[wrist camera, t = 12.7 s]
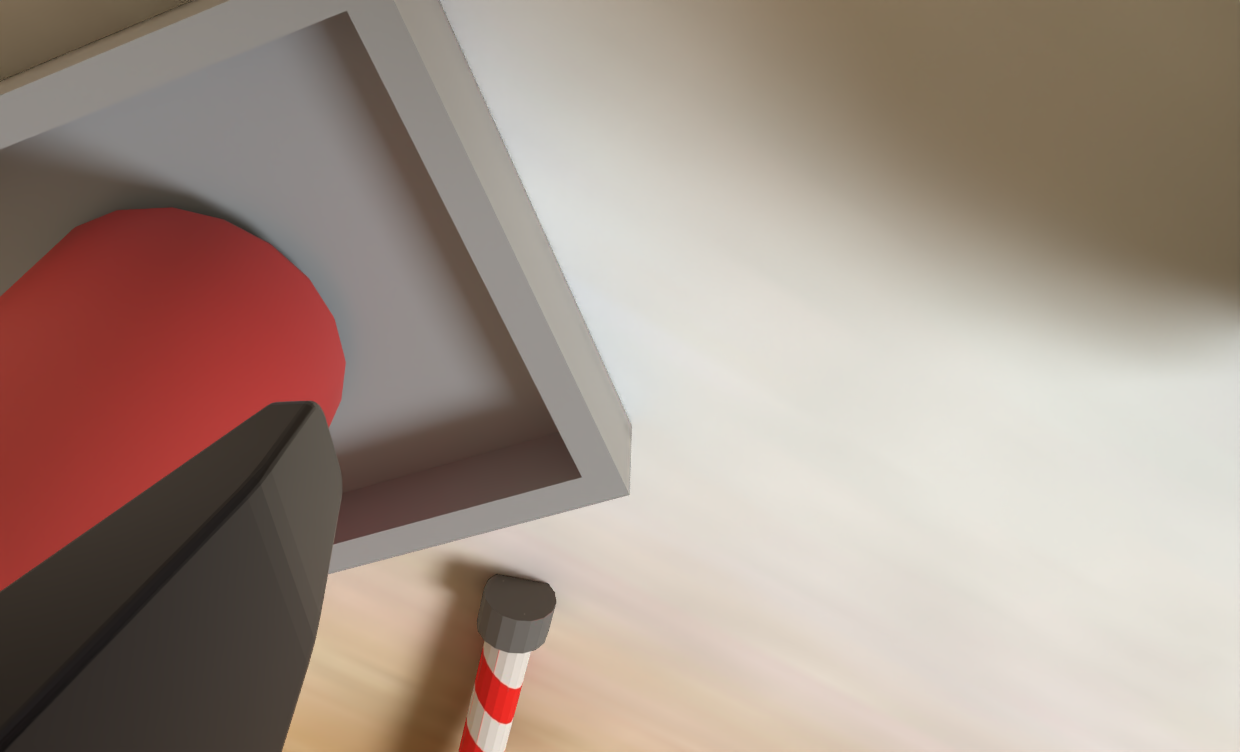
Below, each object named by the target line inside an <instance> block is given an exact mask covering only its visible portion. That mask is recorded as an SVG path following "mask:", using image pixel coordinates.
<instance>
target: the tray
mask: <svg viewBox="0 0 1240 752" xmlns="http://www.w3.org/2000/svg"><path fill="white" fill-rule="evenodd" d="M170 207H173V208H177V209H182V210H186V211H190V212H194V213H199V214H203V215H207V216H211V217H216V218H220V219H224V220H226V221H228V222H230V223H232V224H234V225H235V226H237V227H239V228H241V229H243V230H245V231H247V232H249V233H251V234H253V235H255V236H257V237H258V238H260V239H262V240H264V241H266V242H268V243H270V244H271V245H273V246H274V247H275V248H276V249H277V250H278V251H279V252H280V253H282V254H283V255H284V256H285V257H286V258H287V259H288V260H289V261H290V262H292V263H293V264H294V265H295V266H296V267H297V268H298V269H299V270H301V271H302V272H303V273H304V274H305V275H306V276H307V277H308V278H309V279H310V280H311V282H312V284H313V285H314V287H315V288H316V290H317V291H318V293H319V295H320V296H321V298H322V299H323V301H324V302H325V304H326V305H327V307H328V309H329V310H330V312H331V313H332V315H333V316H334V319H335V322H336V326H337V330H338V334H339V338H340V341H341V345H342V349H343V353H344V357H345V361H346V366H345V374H344V382H343V390H342V399H341V402H340V404H339V406H338V409H337V411H336V413H335V415H334V418H333V420H332V422H331V424H330V427H329V431H330V434H331V438H332V441H333V445H334V448H335V452H336V455H337V459H338V462H339V466H340V470H341V475H342V499H341V504H340V510H339V515H338V521H337V527H336V532H335V538H334V543H333V549H332V554H331V560H330V565H329V571H328V574H331V573H335V572H339V571H342V570H346V569H350V568H354V567H358V566H361V565H365V564H369V563H373V562H377V561H380V560H384V559H388V558H392V557H395V556H399V555H403V554H407V553H411V552H414V551H418V550H422V549H426V548H430V547H433V546H437V545H441V544H445V543H449V542H452V541H456V540H460V539H464V538H468V537H471V536H475V535H479V534H483V533H487V532H490V531H494V530H498V529H502V528H506V527H509V526H513V525H517V524H521V523H525V522H528V521H532V520H536V519H540V518H544V517H547V516H551V515H555V514H559V513H563V512H566V511H570V510H574V509H578V508H582V507H585V506H589V505H593V504H597V503H601V502H604V501H608V500H612V499H616V498H620V497H623V496H627V495H630V467H631V436H632V425H631V423H630V421H629V418H628V416H627V414H626V412H625V410H624V407H623V405H622V403H621V401H620V399H619V396H618V394H617V392H616V390H615V388H614V385H613V383H612V381H611V379H610V377H609V374H608V372H607V370H606V368H605V365H604V363H603V361H602V359H601V357H600V354H599V352H598V350H597V348H596V346H595V343H594V341H593V339H592V337H591V335H590V332H589V330H588V328H587V326H586V324H585V321H584V319H583V317H582V315H581V313H580V310H579V308H578V306H577V304H576V301H575V299H574V297H573V295H572V293H571V290H570V288H569V286H568V284H567V282H566V279H565V277H564V275H563V273H562V271H561V268H560V266H559V264H558V262H557V260H556V257H555V255H554V253H553V251H552V248H551V246H550V244H549V242H548V240H547V237H546V235H545V233H544V231H543V229H542V226H541V224H540V222H539V220H538V218H537V215H536V213H535V211H534V209H533V207H532V204H531V202H530V200H529V198H528V196H527V193H526V191H525V189H524V187H523V184H522V182H521V180H520V178H519V176H518V173H517V171H516V169H515V167H514V165H513V162H512V160H511V158H510V156H509V154H508V151H507V149H506V147H505V145H504V143H503V140H502V138H501V136H500V134H499V132H498V129H497V127H496V125H495V123H494V120H493V118H492V116H491V114H490V112H489V109H488V107H487V105H486V103H485V101H484V98H483V96H482V94H481V92H480V90H479V87H478V85H477V83H476V81H475V79H474V76H473V74H472V72H471V70H470V67H469V65H468V63H467V61H466V59H465V56H464V54H463V52H462V50H461V48H460V45H459V43H458V41H457V39H456V37H455V34H454V32H453V30H452V28H451V26H450V23H449V21H448V19H447V17H446V15H445V12H444V10H443V8H442V6H441V3H440V1H439V0H193V1H191V2H188V3H186V4H183V5H181V6H179V7H176V8H174V9H171V10H169V11H167V12H164V13H162V14H160V15H157V16H155V17H152V18H150V19H148V20H145V21H143V22H140V23H138V24H136V25H133V26H131V27H128V28H126V29H124V30H121V31H119V32H117V33H114V34H112V35H109V36H107V37H105V38H102V39H100V40H97V41H95V42H93V43H90V44H88V45H85V46H83V47H81V48H78V49H76V50H74V51H71V52H69V53H66V54H64V55H62V56H59V57H57V58H54V59H52V60H50V61H47V62H45V63H42V64H40V65H38V66H35V67H33V68H31V69H28V70H26V71H23V72H21V73H19V74H16V75H14V76H11V77H9V78H7V79H4V80H2V81H0V296H1V295H3V294H4V293H5V292H6V291H7V290H8V289H9V288H10V287H11V286H12V285H13V284H14V283H15V282H17V281H18V280H19V279H20V278H21V277H22V276H23V275H24V274H25V273H26V272H27V271H28V270H29V269H31V268H32V267H33V266H34V265H35V264H36V263H37V262H38V261H39V260H40V259H41V258H42V257H43V256H44V255H46V254H47V253H48V252H49V251H50V250H51V249H52V248H53V247H54V246H55V245H56V244H57V243H58V242H60V241H61V240H62V239H63V238H64V237H65V236H66V235H67V234H68V233H69V232H70V231H71V230H72V229H74V228H75V227H77V226H79V225H81V224H84V223H86V222H89V221H91V220H94V219H96V218H99V217H101V216H104V215H106V214H109V213H111V212H114V211H116V210H129V209H150V208H170Z"/></svg>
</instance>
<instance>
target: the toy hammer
mask: <svg viewBox="0 0 1240 752" xmlns="http://www.w3.org/2000/svg"><path fill="white" fill-rule="evenodd" d="M555 605H556V597H555V592H554V591H553V589H552V588H551V587H550V585H549V584H546V583H540V582H535V581H530V580H525V579H519V578H514V577H509V576H504V575H498V574H496V575H495V576H493V577H492V578H490V579H489V580H488V582H487V584H486V586H485V588H484V592H483V596H482V600H481V605H480V609H479V614H478V618H477V627H478V632H479V633H480V635H481V636H482V638H483V639H484V645H483V649H482V653H481V658H480V662H479V666H478V671H477V675H476V679H475V683H474V688H473V692H472V696H471V700H470V705H469V709H468V713H467V718H466V722H465V726H464V730H463V735H462V739H461V743H460V747H459V752H504V751H505V748H506V744H507V740H508V736H509V733H510V729H511V725H512V721H513V717H514V714H515V710H516V706H517V702H518V698H519V695H520V691H521V687H522V683H523V680H524V676H525V672H526V668H527V665H528V661H529V657H530V653H531V651H534V650H536V649H537V648H539V647H540V646H541V645H542V644H543V643H544V642H545V639H546V637H547V634H548V631H549V627H550V624H551V620H552V616H553V613H554V609H555Z"/></svg>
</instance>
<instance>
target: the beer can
mask: <svg viewBox="0 0 1240 752" xmlns="http://www.w3.org/2000/svg"><path fill="white" fill-rule="evenodd" d="M345 366H346V361H345V357H344V353H343V349H342V345H341V341H340V338H339V334H338V330H337V326H336V322H335V319H334V316H333V315H332V313H331V312H330V310H329V309H328V307H327V305H326V304H325V302H324V301H323V299H322V298H321V296H320V295H319V293H318V291H317V290H316V288H315V287H314V285H313V284H312V282H311V280H310V279H309V278H308V277H307V276H306V275H305V274H304V273H303V272H302V271H301V270H299V269H298V268H297V267H296V266H295V265H294V264H293V263H292V262H290V261H289V260H288V259H287V258H286V257H285V256H284V255H283V254H282V253H280V252H279V251H278V250H277V249H276V248H275V247H274V246H273V245H271V244H270V243H268V242H266V241H264V240H262V239H260V238H258V237H257V236H255V235H253V234H251V233H249V232H247V231H245V230H243V229H241V228H239V227H237V226H235V225H234V224H232V223H230V222H228V221H226V220H224V219H220V218H216V217H211V216H207V215H203V214H199V213H194V212H190V211H186V210H182V209H177V208H173V207H170V208H150V209H129V210H116V211H114V212H111V213H109V214H106V215H104V216H101V217H99V218H96V219H94V220H91V221H89V222H86V223H84V224H81V225H79V226H77V227H75V228H74V229H72V230H71V231H70V232H69V233H68V234H67V235H66V236H65V237H64V238H63V239H62V240H61V241H60V242H58V243H57V244H56V245H55V246H54V247H53V248H52V249H51V250H50V251H49V252H48V253H47V254H46V255H44V256H43V257H42V258H41V259H40V260H39V261H38V262H37V263H36V264H35V265H34V266H33V267H32V268H31V269H29V270H28V271H27V272H26V273H25V274H24V275H23V276H22V277H21V278H20V279H19V280H18V281H17V282H15V283H14V284H13V285H12V286H11V287H10V288H9V289H8V290H7V291H6V292H5V293H4V294H3V295H1V296H0V591H1V590H3V589H4V588H6V587H7V586H8V585H10V584H11V583H13V582H14V581H16V580H17V579H19V578H20V577H21V576H23V575H24V574H26V573H27V572H29V571H30V570H31V569H33V568H34V567H36V566H37V565H39V564H40V563H42V562H43V561H44V560H46V559H47V558H49V557H50V556H52V555H53V554H54V553H56V552H57V551H59V550H60V549H62V548H63V547H65V546H66V545H67V544H69V543H70V542H72V541H73V540H75V539H76V538H77V537H79V536H80V535H82V534H83V533H85V532H86V531H88V530H89V529H90V528H92V527H93V526H95V525H96V524H98V523H99V522H100V521H102V520H103V519H105V518H106V517H108V516H109V515H111V514H112V513H113V512H115V511H116V510H118V509H119V508H121V507H122V506H123V505H125V504H126V503H128V502H129V501H131V500H132V499H134V498H135V497H136V496H138V495H139V494H141V493H142V492H144V491H145V490H146V489H148V488H149V487H151V486H152V485H154V484H155V483H156V482H158V481H159V480H161V479H162V478H164V477H165V476H167V475H168V474H169V473H171V472H172V471H174V470H175V469H177V468H178V467H179V466H181V465H182V464H184V463H185V462H187V461H188V460H190V459H191V458H192V457H194V456H195V455H197V454H198V453H200V452H201V451H202V450H204V449H205V448H207V447H208V446H210V445H211V444H213V443H214V442H215V441H217V440H218V439H220V438H221V437H223V436H224V435H225V434H227V433H228V432H230V431H231V430H233V429H234V428H235V427H237V426H238V425H240V424H241V423H243V422H244V421H245V420H247V419H248V418H250V417H251V416H253V415H254V414H256V413H257V412H258V411H260V410H261V409H263V408H264V407H266V406H267V405H269V404H271V403H274V402H285V401H314V402H316V403H317V404H319V405H320V407H321V408H322V410H323V412H324V414H325V417H326V420H327V424H328V427H330V424H331V422H332V420H333V418H334V415H335V413H336V411H337V409H338V406H339V404H340V402H341V399H342V390H343V382H344V374H345Z"/></svg>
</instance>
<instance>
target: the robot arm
mask: <svg viewBox="0 0 1240 752" xmlns="http://www.w3.org/2000/svg"><path fill="white" fill-rule="evenodd" d="M341 499H342V475H341V470H340V466H339V462H338V459H337V455H336V452H335V448H334V445H333V441H332V438H331V434H330V431H329V427H328V424H327V420H326V417H325V414H324V412H323V410H322V408H321V407H320V405H319V404H317V403H316V402H314V401H285V402H274V403H271V404H269V405H267V406H266V407H264V408H263V409H261V410H260V411H258V412H257V413H256V414H254V415H253V416H251V417H250V418H248V419H247V420H245V421H244V422H243V423H241V424H240V425H238V426H237V427H235V428H234V429H233V430H231V431H230V432H228V433H227V434H225V435H224V436H223V437H221V438H220V439H218V440H217V441H215V442H214V443H213V444H211V445H210V446H208V447H207V448H205V449H204V450H202V451H201V452H200V453H198V454H197V455H195V456H194V457H192V458H191V459H190V460H188V461H187V462H185V463H184V464H182V465H181V466H179V467H178V468H177V469H175V470H174V471H172V472H171V473H169V474H168V475H167V476H165V477H164V478H162V479H161V480H159V481H158V482H156V483H155V484H154V485H152V486H151V487H149V488H148V489H146V490H145V491H144V492H142V493H141V494H139V495H138V496H136V497H135V498H134V499H132V500H131V501H129V502H128V503H126V504H125V505H123V506H122V507H121V508H119V509H118V510H116V511H115V512H113V513H112V514H111V515H109V516H108V517H106V518H105V519H103V520H102V521H100V522H99V523H98V524H96V525H95V526H93V527H92V528H90V529H89V530H88V531H86V532H85V533H83V534H82V535H80V536H79V537H77V538H76V539H75V540H73V541H72V542H70V543H69V544H67V545H66V546H65V547H63V548H62V549H60V550H59V551H57V552H56V553H54V554H53V555H52V556H50V557H49V558H47V559H46V560H44V561H43V562H42V563H40V564H39V565H37V566H36V567H34V568H33V569H31V570H30V571H29V572H27V573H26V574H24V575H23V576H21V577H20V578H19V579H17V580H16V581H14V582H13V583H11V584H10V585H8V586H7V587H6V588H4V589H3V590H1V591H0V752H282V749H283V746H284V743H285V740H286V736H287V733H288V730H289V727H290V723H291V720H292V717H293V714H294V711H295V707H296V704H297V701H298V698H299V694H300V691H301V688H302V685H303V681H304V678H305V675H306V672H307V668H308V665H309V662H310V658H311V654H312V651H313V647H314V644H315V640H316V635H317V630H318V625H319V620H320V615H321V610H322V604H323V599H324V593H325V588H326V582H327V577H328V571H329V565H330V560H331V554H332V549H333V543H334V538H335V532H336V527H337V521H338V515H339V510H340V504H341Z"/></svg>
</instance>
